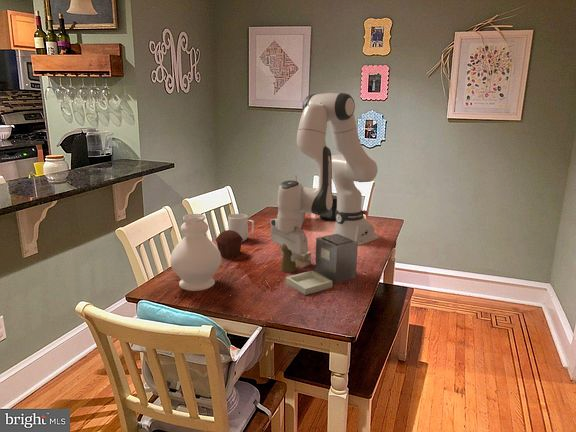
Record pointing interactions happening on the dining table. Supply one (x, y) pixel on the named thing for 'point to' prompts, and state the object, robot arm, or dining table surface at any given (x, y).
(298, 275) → the tray
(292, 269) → the cork
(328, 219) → the supplement container
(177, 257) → the decorative vase
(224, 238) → the muffin
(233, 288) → the dining table surface
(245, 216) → the mug
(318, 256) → the box
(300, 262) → the maple block
